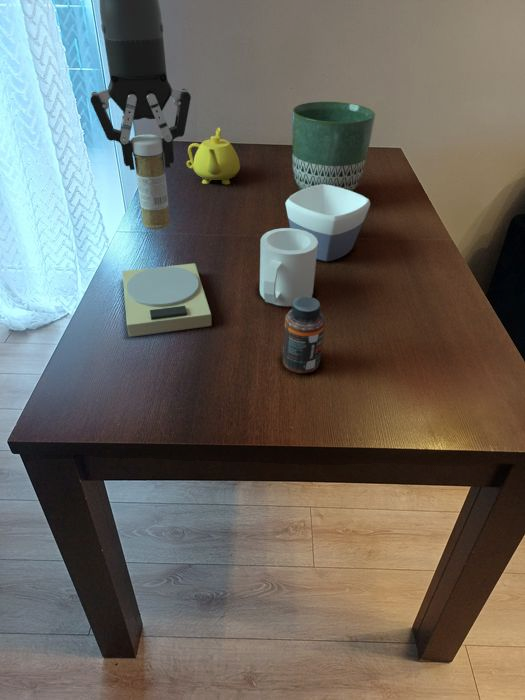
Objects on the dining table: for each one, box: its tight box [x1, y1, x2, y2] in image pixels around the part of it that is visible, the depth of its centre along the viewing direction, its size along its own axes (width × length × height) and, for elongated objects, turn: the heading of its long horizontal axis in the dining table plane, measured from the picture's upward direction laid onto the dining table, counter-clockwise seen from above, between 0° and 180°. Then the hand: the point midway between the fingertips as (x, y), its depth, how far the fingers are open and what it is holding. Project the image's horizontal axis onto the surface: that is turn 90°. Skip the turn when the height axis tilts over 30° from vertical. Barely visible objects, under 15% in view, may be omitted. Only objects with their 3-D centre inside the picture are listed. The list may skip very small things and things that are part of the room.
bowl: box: [285, 184, 371, 262], centre depth 105 cm, size 15×15×11 cm
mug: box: [259, 227, 318, 307], centre depth 90 cm, size 14×10×11 cm
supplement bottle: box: [282, 296, 326, 374], centre depth 75 cm, size 6×6×11 cm
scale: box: [121, 262, 213, 338], centre depth 90 cm, size 14×18×3 cm
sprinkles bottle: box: [130, 134, 172, 230], centre depth 76 cm, size 5×5×13 cm
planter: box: [291, 101, 376, 192], centre depth 124 cm, size 20×20×21 cm
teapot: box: [186, 126, 241, 185], centre depth 136 cm, size 20×15×12 cm
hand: (149, 166), depth 74 cm, fingers closed on sprinkles bottle, 4 cm apart
